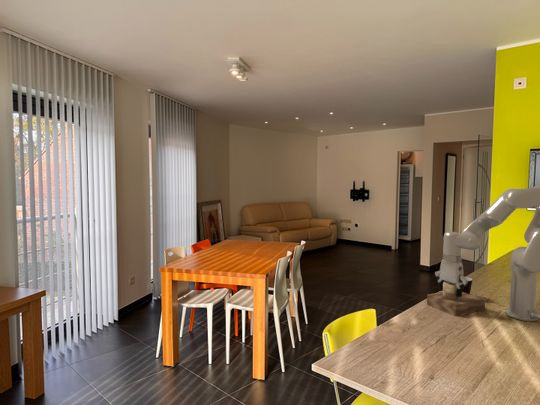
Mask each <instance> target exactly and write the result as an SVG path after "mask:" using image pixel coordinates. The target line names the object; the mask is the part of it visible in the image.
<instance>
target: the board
mask: <svg viewBox="0 0 540 405" xmlns="http://www.w3.org/2000/svg"><path fill="white" fill-rule="evenodd" d="M442 296H443V291H439V292H435V293H429V294H426V305H427V306H429V307H432V308H434V309H437V310H440V311H442V312H444V313H447V314H450V315H452V316H455V317H457V316H461V315H466V314H470V313H476V312H480V311H481V312H482V311H485V310H486V299H484V298H482V297H480V296H479V297H478V296H476V295H472V294H471V293H470V294H467V293H464V292H462V296H461V297H457V300H447V299H444V298H443V297H442Z"/></svg>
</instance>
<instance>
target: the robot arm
mask: <svg viewBox="0 0 540 405" xmlns="http://www.w3.org/2000/svg"><path fill="white" fill-rule="evenodd" d="M533 208H535V212H534V214H533V216H532V218H531V220H530V223H529V224H528V226H527V228H526V230H525V232H524V235H523V238H524V241H525V242H526V243H527V245H526V246H518V247H515V248H514V250H513V251H512V253H511V255H510V268H511V271H510V272H511V273H510V274H511V275H510V278H511V279H510V289H509V290H510V292H509V294H510V295H509V308H508V309H505V311H504V314H505V315H506V316H507V317H510V318H512V319H516V320H519V321H523V322H524V321H525V322H536V321H538V320H540V313H539V312H538V308H536V300H537V299H536V298H537V283H538V273H540V184H538V185H535V186H533V187H525V188H508V189H506V190H505V191H504V192H502V193H501V194H500V195H499V196H498V198H496V199H495V201H494V202H492V204H491V205H490V206H489V207H488V208H486V210H485V211H484V212H483V213H481V214H480V215H479V216H478V217H476V218H475V219H474V220H472V222H471V223H470V224H469V225H467V227H466V228H464V230H462V232H461V233H460V232H457V231H447V232H444V234H443V245H442V246H443V248H442V250H443V252H442V259H441V263H440V265H439V266H440V267H439V270H437V271H435V272H434V275H435V277H436V279H437V283H438V291H439V292H443V282H451V283H454V284H456V286H457V289H456V297H461V296H462V288H464V287H465V286H466V284H467V283H468V281H467V280H466V279H465V278H464V277H465V276H464V266H463V262H462V261H463V258H462V257H461V256H462V249H464V250H469V251H476V250H478V249H479V248H481V246H482V239H481V237H482V236H483V235H484V234H486V233H487V232H488V231H489V230H491V229H493V228H496V227H499V226H500V225H502V224H503V223H504V222H505V221H506V220H507V219H508V218H509V217H510V216H511V215H512V214H513V213H514V212H515V211H517V209H533ZM462 283H463V284H462ZM459 285H460V286H459Z"/></svg>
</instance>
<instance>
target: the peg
mask: <svg viewBox="0 0 540 405" xmlns="http://www.w3.org/2000/svg"><path fill="white" fill-rule="evenodd" d="M456 289H457V286H456V284H454V283H451V282H447V281H444V282H443V291H442V292H443V296H442V297H443V298H444V299H447V300H457V297H456Z"/></svg>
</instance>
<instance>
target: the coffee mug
mask: <svg viewBox="0 0 540 405" xmlns="http://www.w3.org/2000/svg"><path fill="white" fill-rule="evenodd" d="M463 277H464V278H465V279H466V280H467V281H468V283H467V284H466V286H465V287H464V288H462V292H464V293H467V294H470V295H471V292H472V286H473V278H471V277H467V276H463ZM462 284H463V283H462ZM459 286H460V285H459Z"/></svg>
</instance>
